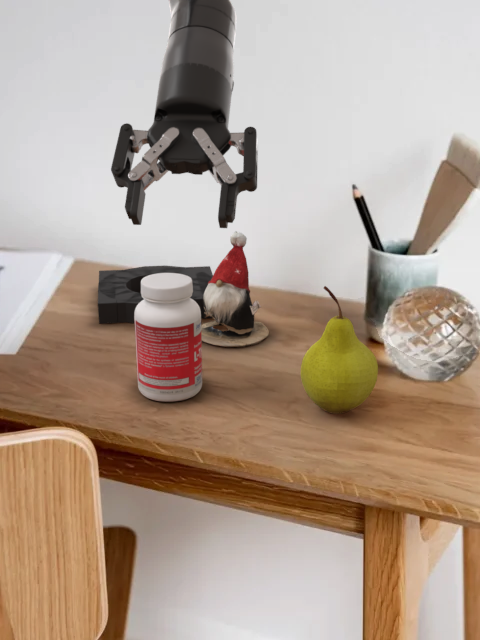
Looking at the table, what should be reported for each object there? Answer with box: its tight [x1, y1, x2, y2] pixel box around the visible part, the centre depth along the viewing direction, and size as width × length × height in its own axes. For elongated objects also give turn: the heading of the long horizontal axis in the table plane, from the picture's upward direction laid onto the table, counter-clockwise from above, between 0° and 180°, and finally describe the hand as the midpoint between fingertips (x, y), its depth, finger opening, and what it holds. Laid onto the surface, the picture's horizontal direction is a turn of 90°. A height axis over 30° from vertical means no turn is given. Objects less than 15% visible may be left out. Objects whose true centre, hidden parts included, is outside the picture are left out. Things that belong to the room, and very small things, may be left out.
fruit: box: [300, 285, 379, 415], centre depth 75 cm, size 7×7×12 cm
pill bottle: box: [133, 273, 203, 403], centre depth 79 cm, size 6×6×11 cm
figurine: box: [201, 230, 270, 348], centre depth 93 cm, size 8×10×12 cm
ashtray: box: [97, 265, 214, 325], centre depth 102 cm, size 14×14×2 cm
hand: (178, 222), depth 81 cm, fingers open, 8 cm apart
